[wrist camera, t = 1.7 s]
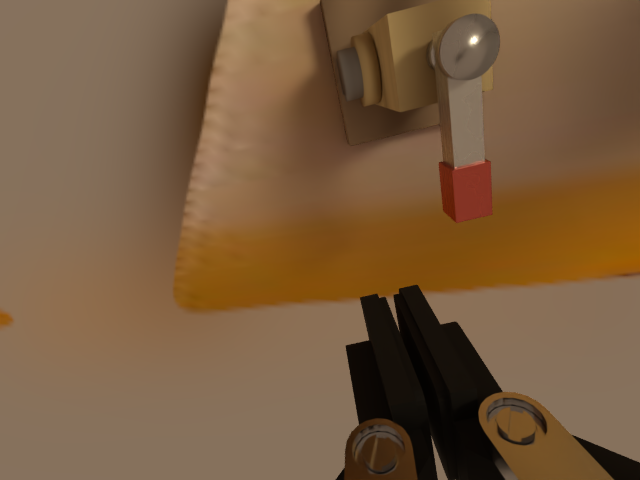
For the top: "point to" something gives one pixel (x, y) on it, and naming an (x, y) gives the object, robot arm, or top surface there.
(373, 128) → the valve
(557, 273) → the top surface
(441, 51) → the valve lever
